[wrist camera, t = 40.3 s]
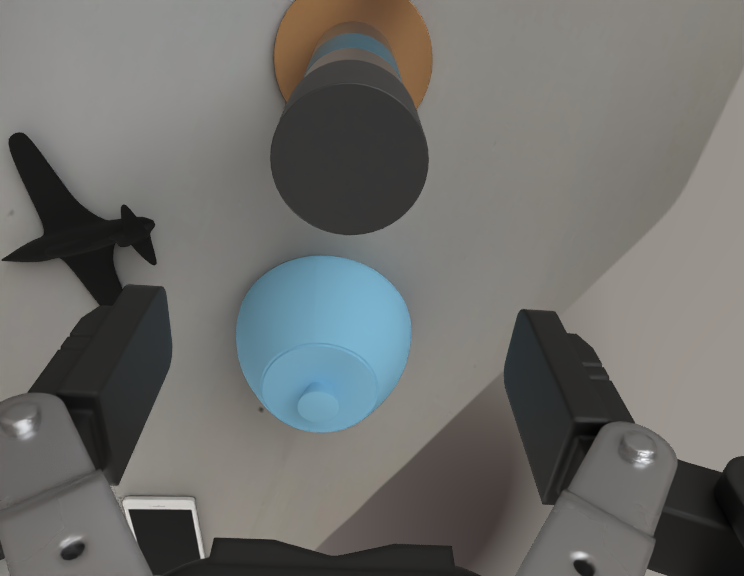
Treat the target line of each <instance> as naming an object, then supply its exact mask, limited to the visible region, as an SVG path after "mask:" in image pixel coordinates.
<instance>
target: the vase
mask: <svg viewBox="0 0 744 576" xmlns="http://www.w3.org/2000/svg"><path fill="white" fill-rule="evenodd" d="M4 558H5V555H4V552H3V548H2V545H1V544H0V560H1V559H4Z"/></svg>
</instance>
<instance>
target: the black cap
mask: <svg viewBox="0 0 744 576" xmlns="http://www.w3.org/2000/svg"><path fill="white" fill-rule="evenodd" d="M270 161H271V170H272V175H273V179H274V182H275V184H276V187H277V189H278V191H279V193H280V195H281V197H282V198H283V200H284V201H285V203H286V204H287V205H288V206H289V207H290V209H291V210H292V211H293V212H294V213H295V214H297V215H298V216H299V217H300V218H301V219H303V220H304V221H306V222H307V223H309V224H311V225H312V226H314V227H316V228H319V229H321V230H324V231H327V232H331V233H335V234H342V235H359V234H366V233H370V232H374V231H377V230H380V229H383V228H385V227H386V226H388V225H390V224H392V223H394V222H395V221H397V220H398V219H399V218H401V217H402V216H403V215H404V214H405V213H406V212H407V211H408V210H409V209H410V208H411V207H412V206H413V204H414V203H415V201H416V200H417V198H418V197H419V195H420V193H421V191H422V189H423V186H424V184H425V181H426V177H427V172H428V163H429V157H428V147H427V142H426V138H425V135H424V132H423V129H422V126H421V123H420V120H419V117H418V113H417V110H416V107H415V105H414V102H413V100H412V98H411V96H410V94H409V92H408V91H407V89H406V88H405V86H404V85H403V84H402V83H401V82H400V81H399V80H398V79H397V78H396V77H395V76H394V75H393V74H391V73H390V72H388V71H387V70H385V69H384V68H382V67H380V66H378V65H375V64H373V63H369V62H366V61H360V60H340V61H334V62H331V63H327V64H325V65H323V66H320V67H318V68H317V69H315V70H313V71H312V72H310V73H309V74H308V75H307V76H305V77H304V78H303V79H302V80H301V81H300V82H299V84H298V85H297V86H296V88H295V89H294V90H293V92H292V94H291V96H290V98H289V100H288V102H287V104H286V107H285V109H284V111H283V114H282V116H281V118H280V121H279V123H278V125H277V128H276V131H275V133H274V136H273V140H272V145H271V155H270Z"/></svg>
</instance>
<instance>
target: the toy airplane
mask: <svg viewBox="0 0 744 576" xmlns="http://www.w3.org/2000/svg"><path fill="white" fill-rule="evenodd" d="M9 148H10V152H11V154H12V157H13V160H14V162H15V165H16V167H17V170H18V172H19V174H20V176H21V178H22V181H23V183H24V185H25V187H26V189H27V191H28V193H29V195H30V198H31V200H32V202H33V204H34V206H35V208H36V210H37V212H38V214H39V217H40V219H41V222H42V224H43V228H44V235H43V236H42V237H41V238H38V239H35V240H33V241H31V242H29V243H27V244H26V245H24V246H22V247H20V248H19V249H17V250H16V251H14V252H12V253H11V254H9V255H8V256H6V257H5V258H3V259H2V261H13V262H40V261H47V260H51V259H56V258H60V259H62V260H63V261H64V262H65V263H66V264H67V265H68V266H69V267H70V268H71V269H72V270H73V271H74V273H75V274H76V275H77V277H78V278H79V279H80V280H81V282H82V283H83V284H84V286H85V287H86V288H87V290H88V291H89V292H90V294H91V295H92V296H93V297H94V299H95V300H96V301H97V302H98V304H99V305H108V306H112V305H113V304H114V302H115V301H116V299H117V298H118V296H119V295H120V293H121V292H122V290H123V289H122V286H121V284H120V282H119V279H118V277H117V274H116V272H115V268H114V265H113V249H114V245H115V243H117V244H118V245H119V246H120V247H127V246H130V245H131V246H132V247H133V248H134V249H135V250H136V251H137V252H138V253H139V254H140V255H141V256H142V257H143V258H144V259H145V260H147V261H148V262H149V263H150V264H152V265H156V264H157V262H156V257H155V253H154V249H153V245H152V241H151V237H150V233H151V231H152V229H153V228H154V227H155V223H154V221H153V220H151V219H148V218H145V217H136V216H135V215H134V213H133V212H132V211H131V210H130V209H129V208H128V207H127V206H126V205H122V206H121V219H117V220H104V219H102V218H100V217H98V216H96V215H95V214H93V213H91V212H90V211H89V210H87V209H86V208H84V207H83V206H82V205H81V204H80V203H79V202H78V201H77V200H76V199H75V198H74V197H73V196H72V195H71V193H70V192H69V191H68V190H67V188H66V187H65V186H64V184H63V183H62V181H61V180H60V179H59V177H58V176H57V175H56V173H55V172H54V170H53V169H52V168H51V166H50V165H49V163H48V162H47V161H46V159H45V158H44V157H43V155H42V154H41V152H40V151H39V150H38V149H37V147H36V146H35V145H34V143H33V142H32V141H31V140H30V139H29V138H28V137H27V136H26V135H25V134H24V133H15V134H13V135H12V136H10V138H9Z"/></svg>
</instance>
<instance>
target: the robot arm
mask: <svg viewBox="0 0 744 576" xmlns="http://www.w3.org/2000/svg"><path fill="white" fill-rule="evenodd" d="M171 358H172V337H171V329H170V320H169V312H168V304H167V296H166V291H165V289H164V287H162V286H148V285H131V284H128V285H126V286H125V287H124V289H123V290H122V292H121V293H120V295H119V296H118V298H117V299H116V301H115V302H114V304H113V305H112V306H108V305H100V306H99V307H97V308H96V309H94V310H93V311H91V312H90V313H88V314H87V315H85V316H84V317H82V318H81V319H80V320H79V322H78V323H77V325H76V326H75V327H74V329H73V330H72V332H71V333H70V337H67V338H66V340H65V341H64V343H63V344H62V345H61V349H60V350H58V351H57V352H56V354H55V355H54V356H53V358H52V359H51V361H50V362H49V363H48V365H47V366H46V368H45V369H44V370H43V372H42V373H41V374H40V376H39V377H38V379H37V380H36V381H35V383H34V384H33V386H32V387H31V388H30V390H29V391H28V393H27V394H21V395H17V396H14V397H11V398H8V399H6V400H3V401H1V402H0V544H1V545H2V548H3V552H4V555H5V559H6V563H7V566H8V570H9V573H10V576H153V574H152V572H151V570H150V568H149V566H148V564H147V562H146V559H145V557H144V555H143V553H142V551H141V549H140V547H139V545H138V543H137V541H136V539H135V537H134V535H133V533H132V531H131V529H130V526H129V524H128V522H127V520H126V518H125V516H124V514H123V512H122V510H121V508H120V506H119V504H118V502H117V500H116V498H115V495H114V493H113V491H112V489H111V487H110V485H112V486H118V485H119V483H120V481H121V478H122V476H123V474H124V471H125V469H126V467H127V464H128V462H129V460H130V458H131V455H132V453H133V451H134V448H135V446H136V444H137V442H138V439H139V437H140V435H141V432H142V430H143V428H144V425H145V423H146V421H147V419H148V416H149V414H150V412H151V409H152V407H153V405H154V403H155V400H156V398H157V396H158V393H159V391H160V389H161V386H162V384H163V382H164V380H165V377H166V375H167V373H168V370H169V367H170V363H171ZM504 384H505V389H506V392H507V395H508V398H509V402H510V405H511V408H512V411H513V414H514V417H515V420H516V423H517V426H518V430H519V433H520V436H521V439H522V442H523V445H524V448H525V451H526V454H527V457H528V461H529V464H530V467H531V470H532V473H533V476H534V479H535V483H536V486H537V489H538V492H539V495H540V498H541V501H542V504H545V505H554V507H553V509H552V510H551V512H550V514H549V516H548V518H547V519H546V521H545V523H544V525H543V527H542V528H541V530H540V532H539V534H538V536H537V537H536V539H535V541H534V543H533V544H532V546H531V548H530V550H529V552H528V553H527V555H526V557H525V559H524V561H523V562H522V564H521V566H520V568H519V570H518V572H517V573H516V575H515V576H644V575H645V572H646V569H650V570H652V571H655V572H658V573H661V574H664V575H667V576H744V456H741V457H736V458H733V459H732V460H730V461H729V463H728V464H727V466H726V467H725V469H724V470H723V472H718V471H715V470H711V469H708V468H705V467H701V466H697V465H694V464H691V463H687V462H684V461H681V460H679V459H677V457H676V454H675V452H674V450H673V449H672V447H671V446H670V445H669V444H668V443H667V442H666V441H665V440H664V439H663V438H662V437H661V436H659V435H658V434H656V433H655V432H653V431H651V430H650V429H648V428H646V427H643V426H641V425H638V424H635V422H634V420H633V418H632V416H631V415H630V413H629V411H628V409H627V408H626V406H625V404H624V402H623V401H622V399H621V397H620V395H619V394H618V392H617V390H616V388H615V387H614V385H613V383H612V381H609V376H608V374H607V372H606V370H605V369H604V367H602V363H601V361H600V360H599V358H598V356H597V354H596V353H595V351H594V349H593V348H592V347H591V346H590V345H589V344H588V343H586V342H585V341H584V340H583V339H582V338H581V337H579V336H578V335H577V334H570V333H567V332H566V331H565V329H564V327H563V325H562V323H561V321H560V319H559V317H558V315H557V314H556V312H554V311H544V310H527V309H522V310H520V311H519V313H518V315H517V318H516V322H515V326H514V330H513V334H512V338H511V341H510V345H509V349H508V353H507V357H506V361H505V366H504ZM162 576H480V575H478V574H476V573H474V572H472V571H469V570H467V569H464V568H462V567H458V566H455V564H454V558H453V551H452V546H437V545H411V544H410V545H409V544H407V545H406V544H392V545H388V546H382V547H378V548H373V549H368V550H364V551H359V552H354V553H349V554H344V555H339V556H330V555H326V554H322V553H319V552H315V551H312V550H308V549H305V548H301V547H298V546H294V545H291V544H287V543H284V542H280V541H277V540H269V539H241V538H214V540H213V545H212V549H211V553H210V557H208V558H203V559H199V560H196V561H193V562H190V563H187V564H184V565H182V566H180V567H177V568H175V569H173V570H171V571H169V572H167V573H165V574H164V575H162Z"/></svg>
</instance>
